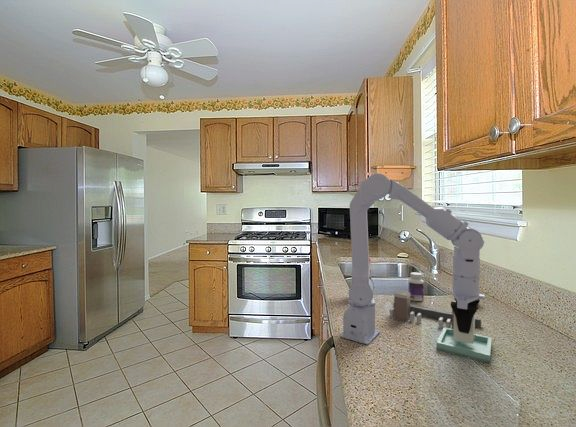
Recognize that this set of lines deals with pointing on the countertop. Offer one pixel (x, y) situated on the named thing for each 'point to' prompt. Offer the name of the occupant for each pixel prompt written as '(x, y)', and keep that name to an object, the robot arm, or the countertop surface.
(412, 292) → the pill bottle
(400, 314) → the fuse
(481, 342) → the tray
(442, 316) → the clip block
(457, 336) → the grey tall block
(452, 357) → the countertop surface
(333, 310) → the countertop surface
